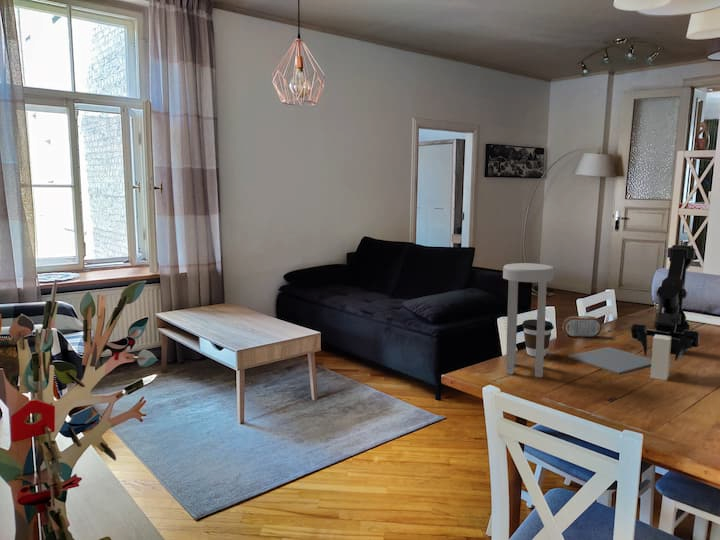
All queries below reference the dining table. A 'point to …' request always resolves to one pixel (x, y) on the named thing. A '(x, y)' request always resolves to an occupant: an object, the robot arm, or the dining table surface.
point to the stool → (515, 275)
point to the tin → (581, 326)
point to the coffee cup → (531, 333)
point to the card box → (660, 357)
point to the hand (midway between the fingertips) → (660, 357)
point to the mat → (612, 360)
